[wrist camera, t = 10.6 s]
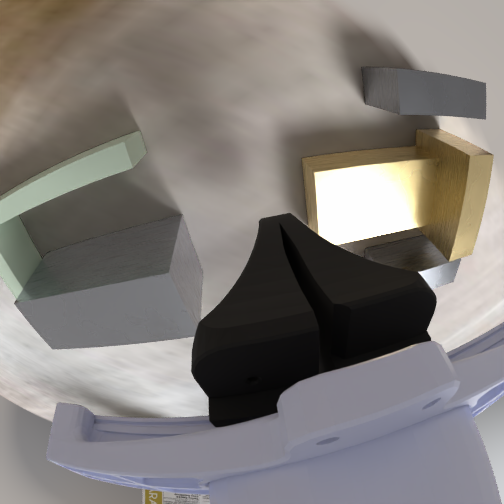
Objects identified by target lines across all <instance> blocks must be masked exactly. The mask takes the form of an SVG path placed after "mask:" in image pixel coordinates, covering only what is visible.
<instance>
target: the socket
mask: <svg viewBox="0 0 504 504" xmlns="http://www.w3.org/2000/svg"><path fill="white" fill-rule="evenodd" d="M362 75H363V84H364V94H365V104H367V105H370V106H374V107H377V108H380V109H384V110H387V111H390V112H393V113H396V114H399V115H437V116H455V117H467V118H477V119H486V83H483V82H479V81H475V80H471V79H466V78H461V77H457V76H451V75H446V74H440V73H433V72H426V71H419V70H410V69H399V68H383V67H362ZM365 258H366V259H368V260H371V261H374V262H377V263H380V264H384V265H387V266H391V267H395V268H400V269H405V270H410V271H415V272H419V274H420V275H421V276H422V277H423V278H424V279H425V281H426V282H427V283H428V285H429V286H430V288H431V289H434V288H437V287H440V286H443V285H445V284H448V283H451V282H453V281H454V279H455V276H456V273H457V270H458V267H459V264H460V261H461V258H459V259H456V260H453V261H450V262H449V261H448V260H447V259H446V258H445V257H444V256H443V255H442V253H441V252H440V251H439V250H438V249H437V248H436V247H435V246H434V245H433V244H432V243H431V241H430V240H429V239H428V238H427V237H426V236H425V235H422V236H418V237H414V238H409V239H405V240H401V241H396V242H392V243H388V244H383V245H379V246H375V247H370V248H366V249H365Z"/></svg>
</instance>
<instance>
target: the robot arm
mask: <svg viewBox="0 0 504 504" xmlns="http://www.w3.org/2000/svg"><path fill="white" fill-rule="evenodd" d="M436 303H437V301H436V295H435V294H434V292H433V291H432V289H431V288H430V286H429V285H428V283H427V282H426V281H425V279H424V278H423V277H422V276H421V275H420V274H419V272H415V271H410V270H405V269H400V268H395V267H391V266H387V265H384V264H380V263H377V262H374V261H371V260H368V259H366V258H363V257H360V256H358V255H355V254H353V253H351V252H348V251H346V250H344V249H342V248H340V247H338V246H336V245H335V244H333V243H331V242H329V241H328V240H326V239H325V238H323V237H321V236H320V235H318V234H317V233H315V232H314V231H313V230H311V229H310V228H309V227H307V226H306V225H305V224H303V223H302V222H301V221H300V220H298V219H297V218H296V217H295V216H293V215H292V214H291V213H287V214H282V215H277V216H272V217H267V218H262V219H261V220H260V221H259V230H258V235H257V239H256V242H255V245H254V248H253V251H252V253H251V256H250V258H249V261H248V263H247V265H246V267H245V269H244V270H243V272H242V274H241V276H240V277H239V279H238V280H237V282H236V283H235V285H234V286H233V288H232V289H231V290H230V292H229V293H228V294H227V295H226V296H225V297H224V299H223V300H222V301H221V302H220V303H219V304H218V305H217V306H216V307H215V308H214V309H213V310H212V311H211V312H210V313H209V314H208V315H207V316H206V317H204V318H203V319H202V320H201V321H200V322H199V323H198V326H197V329H196V333H195V338H194V342H193V348H192V369H191V372H192V374H193V377H194V379H195V380H196V381H197V383H198V384H199V385H200V387H201V388H202V389H203V391H204V392H205V393H206V395H207V396H208V397H209V416H196V417H175V418H132V417H111V416H98V415H94V414H93V413H92V412H91V411H90V410H88V409H87V408H85V407H83V406H81V405H77V404H68V403H60V402H59V403H57V406H56V410H55V414H54V418H53V423H52V427H51V432H50V437H49V442H48V448H47V454H46V458H47V460H49V461H51V462H53V463H55V464H57V465H59V466H61V467H64V468H66V469H68V470H71V471H73V472H75V473H78V474H80V475H83V476H85V477H88V478H91V479H96V480H99V481H104V482H109V483H113V484H118V485H123V486H128V487H134V488H140V489H147V490H154V491H161V492H171V493H182V494H200V495H209V499H210V504H502V503H501V499H500V495H499V491H498V487H497V484H496V480H495V477H494V473H493V470H492V467H491V464H490V461H489V458H488V455H487V452H486V449H485V446H484V443H483V441H482V438H481V436H480V433H479V430H478V428H477V425H476V423H475V421H474V418H473V417H475V416H476V415H478V414H479V413H481V412H482V411H484V410H485V409H486V408H487V407H489V406H490V405H492V404H493V403H494V402H496V401H497V400H498V399H500V398H501V397H502V396H503V395H504V322H503V323H501V324H500V325H498V326H496V327H495V328H493V329H491V330H489V331H488V332H486V333H484V334H482V335H481V336H479V337H477V338H475V339H473V340H471V341H469V342H468V343H466V344H464V345H462V346H460V347H458V348H456V349H454V350H452V351H450V352H447V353H446V352H445V351H444V349H443V347H442V345H440V344H438V343H437V342H435V341H431V337H430V336H429V334H428V332H427V328H428V326H429V324H430V321H431V319H432V316H433V314H434V311H435V307H436Z"/></svg>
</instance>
